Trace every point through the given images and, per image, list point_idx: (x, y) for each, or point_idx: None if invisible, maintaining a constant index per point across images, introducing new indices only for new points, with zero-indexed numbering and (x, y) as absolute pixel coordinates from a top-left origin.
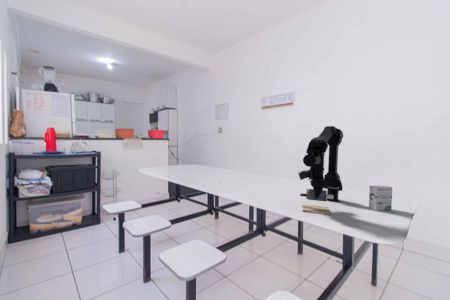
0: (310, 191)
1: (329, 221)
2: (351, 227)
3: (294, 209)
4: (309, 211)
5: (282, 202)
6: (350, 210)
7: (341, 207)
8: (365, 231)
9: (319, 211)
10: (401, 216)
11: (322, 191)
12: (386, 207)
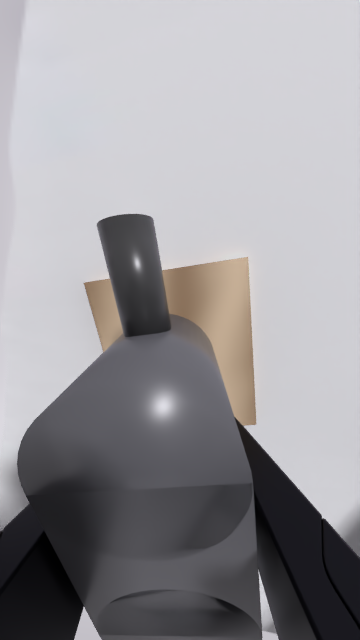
0: (38, 458)
1: (18, 420)
2: (10, 484)
3: (103, 213)
4: (97, 326)
5: (284, 22)
6: None
7: (312, 478)
8: (4, 513)
9: None
10: (264, 620)
11: (109, 634)
12: None
